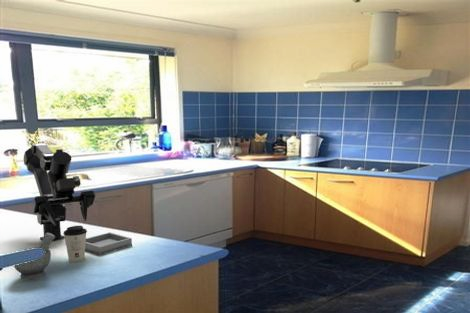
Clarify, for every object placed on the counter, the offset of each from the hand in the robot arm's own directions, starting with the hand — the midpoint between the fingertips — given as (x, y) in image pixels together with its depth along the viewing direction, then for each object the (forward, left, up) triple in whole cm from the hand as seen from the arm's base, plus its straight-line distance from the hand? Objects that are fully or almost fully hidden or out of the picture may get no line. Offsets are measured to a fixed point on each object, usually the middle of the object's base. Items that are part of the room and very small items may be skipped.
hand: (71, 222), depth 140 cm
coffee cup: (+4, -1, -11) cm, 12 cm away
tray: (0, +12, -11) cm, 16 cm away
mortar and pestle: (+8, -16, -11) cm, 21 cm away
